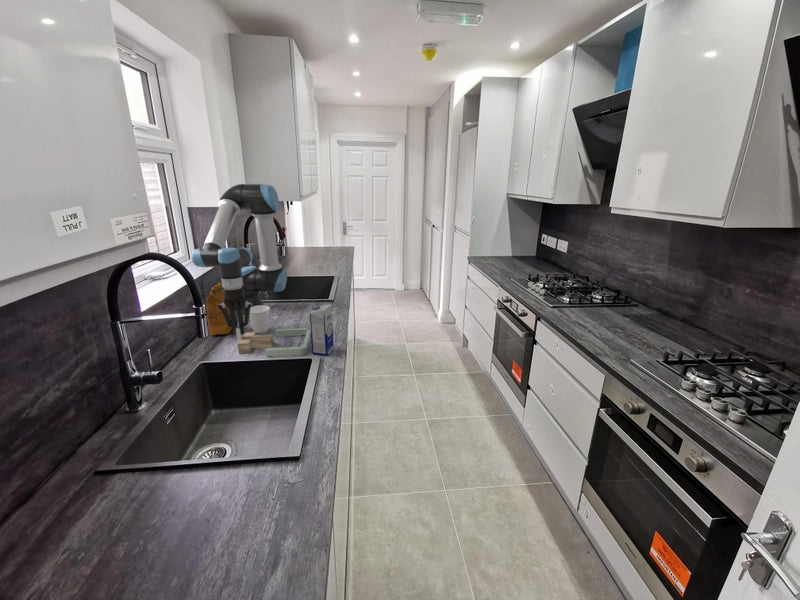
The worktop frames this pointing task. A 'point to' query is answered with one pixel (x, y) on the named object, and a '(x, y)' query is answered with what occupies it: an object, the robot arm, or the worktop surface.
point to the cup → (259, 318)
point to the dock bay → (291, 350)
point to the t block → (254, 342)
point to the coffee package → (216, 312)
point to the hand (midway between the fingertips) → (240, 341)
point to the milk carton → (321, 330)
